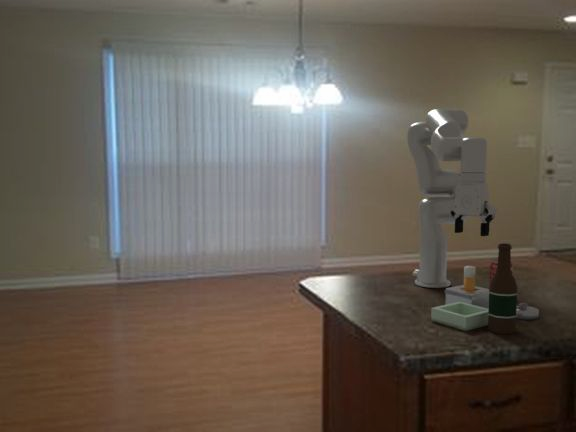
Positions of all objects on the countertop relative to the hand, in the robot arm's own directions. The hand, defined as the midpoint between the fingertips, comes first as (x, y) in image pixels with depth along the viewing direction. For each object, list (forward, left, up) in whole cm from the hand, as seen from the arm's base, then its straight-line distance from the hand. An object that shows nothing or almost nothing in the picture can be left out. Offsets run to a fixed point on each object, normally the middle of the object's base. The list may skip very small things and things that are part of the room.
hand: (471, 234), depth 197 cm
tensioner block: (0, 0, -23) cm, 23 cm away
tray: (+9, -14, -23) cm, 28 cm away
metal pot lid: (+15, +6, -23) cm, 28 cm away
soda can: (0, +16, -24) cm, 29 cm away
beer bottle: (+20, -12, -24) cm, 33 cm away
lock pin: (0, 0, -23) cm, 23 cm away
